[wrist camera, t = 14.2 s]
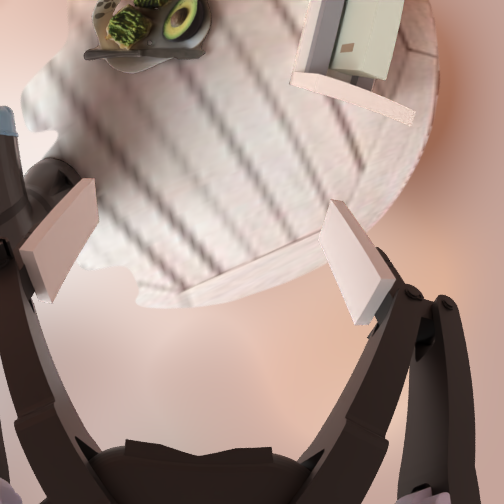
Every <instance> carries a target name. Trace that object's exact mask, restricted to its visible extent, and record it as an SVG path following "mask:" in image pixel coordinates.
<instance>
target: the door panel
mask: <svg viewBox="0 0 504 504" xmlns="http://www.w3.org/2000/svg"><path fill="white" fill-rule="evenodd" d="M403 5H404V0H344V5H343V9H342V13H341V17H340V22H339V26H338V30H337V34H336V38H335V42H334V46H333V50H332V54H331V58H330V62H329V66H328V69H331V70H334V71H337V72H340V73H343V74H346V75H353V76H361V77H367V78H374V79H380V80H385V81H386V78H387V74H388V71H389V67H390V63H391V59H392V55H393V51H394V47H395V42H396V38H397V34H398V29H399V25H400V20H401V15H402V10H403Z"/></svg>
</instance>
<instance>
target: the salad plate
mask: <svg viewBox="0 0 504 504" xmlns="http://www.w3.org/2000/svg"><path fill="white" fill-rule="evenodd" d="M120 1H121V0H99V1H98V2H97V4H96V6H95V8H94V11H93V14H92V23H93V26H94V29H95V33H96V35H97V38H98V46H97V47H96V48H94V49H89V50H87V51H86V52H85V53H84V59H85V60H96V59H103V60H106V61H107V63H109V65H110V66H111V67H112V68H114V69H116V70H118V71H122V72H125V73H137V72H140V71H143V70H146V69H149V68H151V67H153V66H155V65H157V64H160V63H162V62H164V61H166V60H168V59H171V58H176V59H197V58H199V57H201V56H202V55H204V54H205V51H204V50H203V49H202V48H201V45H202V43H203V41H204V39H205V38H206V36H207V34H208V32H209V30H210V26H211V12H210V9H209V6H208V3H207V0H134V4H135V6H134V7H133V6H131V5H129V4H127V5H126V6H125V7H123V8H122V9H121V10H120V11H118V12H117V14H115V15H114V16H113V15H112V14H113V12H114V10H115V8H116V6H117V5H118V4H119V2H120ZM154 8H158V9H154ZM147 41H151V42H152V44H151V45H148V44H147Z"/></svg>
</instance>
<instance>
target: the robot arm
mask: <svg viewBox="0 0 504 504" xmlns="http://www.w3.org/2000/svg"><path fill="white" fill-rule="evenodd" d="M17 137H18V133H17V132H16V127H15V121H14V113H13V111H12V110H11V108H9V107H7V106H0V355H1V360H2V364H3V369H4V373H5V377H6V380H7V384H8V387H9V391H10V394H11V397H12V401H13V404H14V407H15V410H16V413H17V416H18V419H17V420H15V422H14V427H15V430H16V433H17V436H18V438H19V441H20V443H21V446H22V448H23V450H24V453H25V455H26V457H27V459H28V462H29V464H30V466H31V468H32V470H33V472H34V474H35V476H36V478H37V480H38V481H39V483H40V485H41V487H42V489H43V491H44V492H45V494H46V496H47V498H46V499H44V500H43V501H42V502H41V503H40V504H361V503H362V501H363V499H364V497H365V495H366V494H367V492H368V490H369V488H370V486H371V484H372V482H373V480H374V478H375V476H376V474H377V472H378V470H379V468H380V466H381V463H382V461H383V459H384V457H385V454H386V452H387V449H388V445H389V441H388V440H386V439H385V435H386V432H387V429H388V427H389V424H390V422H391V419H392V417H393V414H394V411H395V409H396V406H397V403H398V400H399V397H400V394H401V391H402V388H403V385H404V382H405V379H406V375H407V372H408V369H409V365H410V371H409V397H408V398H409V399H408V412H407V423H406V433H405V441H404V448H403V455H402V462H401V468H400V474H399V481H398V493H397V501H396V503H395V504H481V501H480V494H479V487H478V481H477V476H476V470H475V413H474V399H473V389H472V380H471V373H470V366H469V359H468V353H467V347H466V342H465V337H464V332H463V328H462V323H461V318H460V314H459V310H458V307H457V305H456V303H455V302H454V301H453V300H452V299H451V298H450V297H448V296H446V295H438V297H437V298H436V300H435V301H434V302H432V301H429V300H426V299H424V297H423V295H422V293H421V292H420V291H419V290H418V289H417V288H415V287H414V286H412V285H410V284H405V283H404V281H403V280H402V278H401V277H400V275H399V273H398V272H397V270H396V269H395V268H394V266H393V264H392V263H391V262H390V260H389V258H388V257H387V255H386V254H385V253H384V252H383V251H382V250H381V249H380V248H378V247H375V246H374V244H373V243H372V241H371V240H370V238H369V237H368V235H367V234H366V233H365V231H364V230H363V228H362V227H361V225H360V224H359V223H358V221H357V220H356V218H355V217H354V216H353V214H352V213H351V211H350V210H349V209H348V207H347V206H346V205H345V203H344V202H343V201H338V200H332V199H331V201H330V204H329V207H328V210H327V214H326V217H325V220H324V223H323V226H322V229H321V232H320V235H319V238H318V241H319V243H320V245H321V248H322V250H323V252H324V254H325V256H326V259H327V261H328V263H329V265H330V268H331V270H332V272H333V274H334V277H335V279H336V281H337V284H338V286H339V288H340V291H341V293H342V296H343V298H344V300H345V303H346V305H347V308H348V310H349V312H350V315H351V317H352V320H353V322H354V325H369V323H370V322H371V320H372V319H373V317H374V316H375V317H376V319H377V321H378V322H377V324H376V325H375V327H374V329H373V330H372V331H371V333H370V334H369V336H368V337H367V338H368V339H369V340H368V342H367V344H366V347H365V349H364V351H363V353H362V355H361V357H360V359H359V361H358V363H357V365H356V367H355V369H354V371H353V373H352V376H351V377H350V379H349V381H348V383H347V385H346V387H345V389H344V390H343V392H342V394H341V396H340V398H339V399H338V401H337V403H336V405H335V407H334V408H333V410H332V412H331V413H330V415H329V417H328V418H327V420H326V422H325V424H324V425H323V427H322V428H321V430H320V432H319V433H318V435H317V436H316V438H315V440H314V441H313V442H312V444H311V445H310V447H309V448H308V449H307V450H306V451H305V452H304V453H303V454H302V456H301V457H300V458H299V459H298V461H297V462H296V461H294V460H292V459H290V458H288V457H285V456H282V455H278V454H273V453H272V448H271V447H261V448H235V449H231V450H227V451H222V452H218V453H213V454H208V455H203V456H196V455H192V454H188V453H185V452H181V451H179V450H176V449H173V448H170V447H166V446H164V445H161V444H154V443H147V442H140V441H133V440H128V439H126V442H125V446H119V447H114V448H110V449H107V450H105V451H103V452H102V451H101V449H100V448H99V447H98V445H97V444H96V442H95V441H94V440H93V439H92V437H91V436H90V435H89V433H88V432H87V430H86V429H85V427H84V425H83V423H82V422H81V420H80V418H79V416H78V414H77V412H76V410H75V408H74V406H73V404H72V402H71V400H70V398H69V396H68V394H67V392H66V390H65V388H64V386H63V383H62V381H61V379H60V377H59V374H58V372H57V369H56V367H55V365H54V362H53V360H52V357H51V355H50V352H49V349H48V346H47V344H46V341H45V338H44V335H43V332H42V329H41V326H40V323H39V320H38V317H37V313H36V310H35V306H34V303H33V301H32V299H31V297H32V295H33V293H34V292H35V293H36V295H37V298H38V300H39V301H40V302H46V303H51V304H52V303H53V301H54V299H55V297H56V295H57V293H58V291H59V289H60V287H61V285H62V284H63V282H64V280H65V278H66V276H67V274H68V273H69V271H70V269H71V267H72V265H73V263H74V262H75V260H76V258H77V257H78V255H79V253H80V252H81V250H82V248H83V247H84V245H85V243H86V242H87V240H88V238H89V237H90V235H91V234H92V232H93V231H94V229H95V227H96V226H97V224H98V223H99V216H98V208H97V199H96V189H95V178H83V179H82V180H81V178H80V177H79V175H78V174H77V173H76V171H75V170H74V169H73V168H72V167H71V166H69V165H68V164H66V163H65V162H63V161H61V160H58V159H44V160H41V161H39V162H38V163H36V164H35V165H34V166H32V167H31V168H30V169H29V170H28V171H27V173H26V174H25V175H24V177H23V172H22V166H21V160H20V154H19V147H18V139H17ZM0 504H22V500H21V498H20V496H19V495H18V494H17V493H15V491H14V489H13V488H12V486H11V485H10V479H9V470H8V464H7V458H6V452H5V447H4V442H3V436H2V429H1V422H0Z"/></svg>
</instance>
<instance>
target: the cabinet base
mask: <svg viewBox="0 0 504 504" xmlns="http://www.w3.org/2000/svg"><path fill="white" fill-rule="evenodd" d="M343 5H344V0H310V1H309V5H308V9H307V13H306V17H305V22H304V26H303V30H302V34H301V38H300V42H299V46H298V50H297V54H296V59H295V63H294V67H293V71H292V75H291V79H290V83H289V84H290V85H293V86H297V87H300V88H303V89H306V90H309V91H312V92H316V93H319V94H323V95H326V96H329V97H333V98H336V99H339V100H342V101H345V102H348V103H351V104H354V105H357V106H360V107H363V108H366V109H368V110H371V111H374V112H376V113H379V114H381V115H384V116H386V117H389V118H391V119H394V120H396V121H399V122H401V123H403V124H406V125H408V126H410V127H411V126H412V122H413V119H414V116H415V113H416V111H414V110H412V109H410V108H408V107H405V106H403V105H401V104H399V103H397V102H394V101H392V100H390V99H388V98H385V97H383V96H380V95H378V94H375V93H373V92H372V90H373V86H374V83H375V79H374V78H367V77H361V76H353V75H346V74H343V73H340V72H337V71H334V70H331V69H328V66H329V62H330V58H331V54H332V50H333V46H334V42H335V38H336V34H337V30H338V26H339V22H340V17H341V13H342V9H343Z"/></svg>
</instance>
